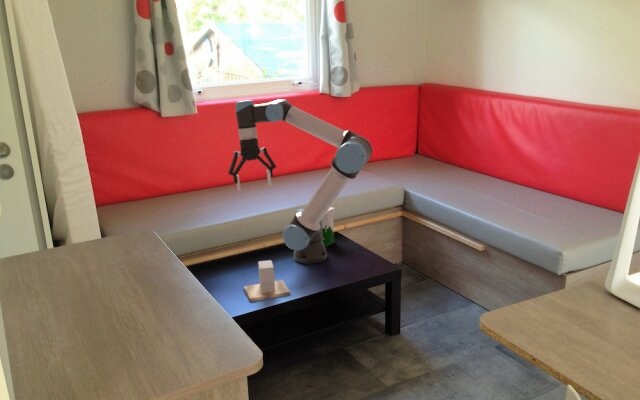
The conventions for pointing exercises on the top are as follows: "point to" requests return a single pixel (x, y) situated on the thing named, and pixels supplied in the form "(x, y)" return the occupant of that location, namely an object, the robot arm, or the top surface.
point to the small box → (266, 276)
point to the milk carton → (328, 227)
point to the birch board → (255, 293)
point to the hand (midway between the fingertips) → (254, 188)
